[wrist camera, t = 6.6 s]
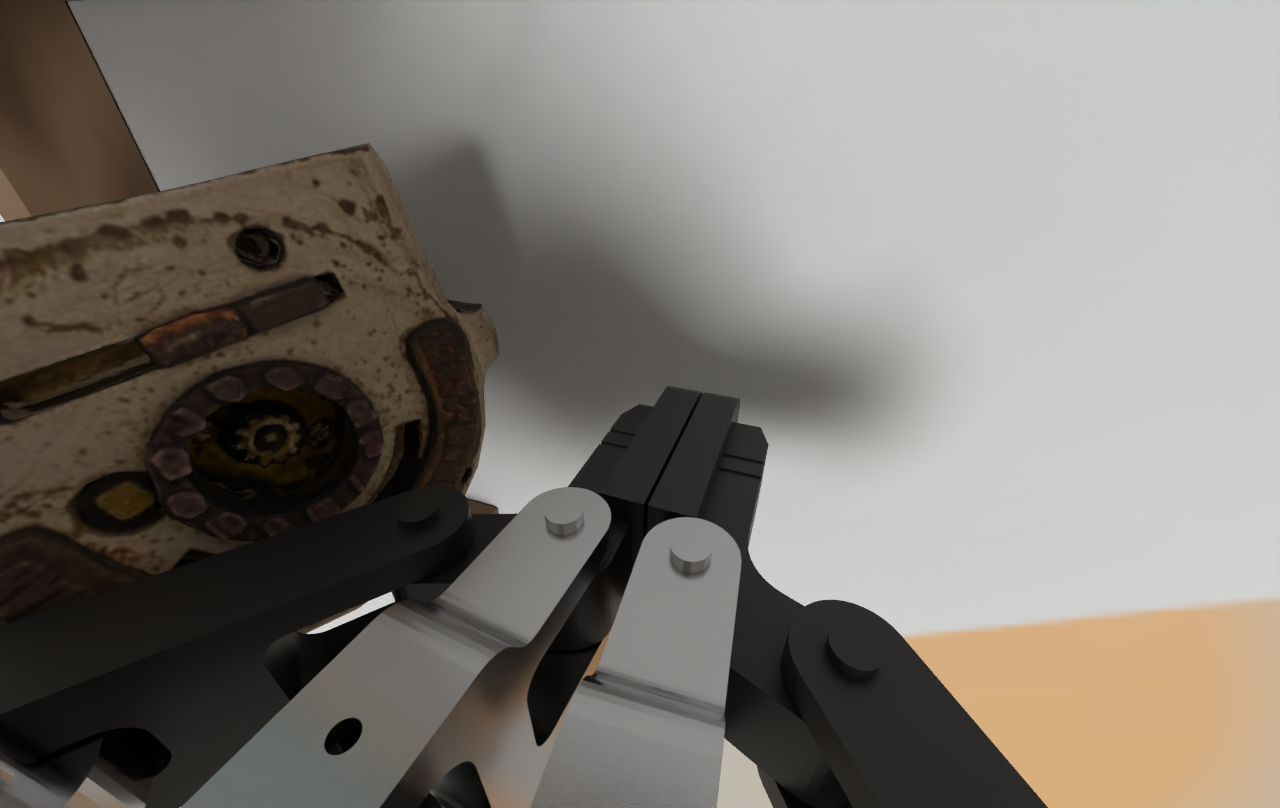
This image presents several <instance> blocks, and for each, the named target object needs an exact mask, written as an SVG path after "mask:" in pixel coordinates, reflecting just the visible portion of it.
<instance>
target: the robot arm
mask: <svg viewBox="0 0 1280 808" xmlns="http://www.w3.org/2000/svg"><path fill="white" fill-rule="evenodd" d="M739 406H740V399H738V398H733V397H727V396H722V395H716V394H710V393H702V392H699V391H693V390H687V389H682V388H676V387H671V386H668V387H666V389H665V390H664V392H663V393H662V395H661V396H660V398H659V400H658V401H657V403H656V404H655V406H654V407H652V406H646V405H641V404H639V405H637V406H635V407H634V408H632V409H630V410H628V411H627V412H625V413H623V414H622V415H621V416H620V417H619V418H618V420H617V421H616V422H615V424H614V425H613V426H612V428H611V430H610V432H608V433H607V435H606V436H605V437H604V439H603V440H602V443H601V444H599V445H598V447H597V448H596V449H595V451H594V452H593V454H592V455H591V456H590V458H589V459H588V460H587V462H586V463H585V464H584V466H583V467H582V468H581V470H580V471H579V472H578V474H577V475H576V477H575V478H574V479H573V481H572V482H571V483H570V485H569V486H568V487H564V488H557V489H553V490H550V491H547V492H544V493H542V494H540V495H538V496H537V497H535V498H534V499H532V500H531V501H530V502H529V503H528V504H527V505H526V506H525V507H524V508H523V509H522V510H521V511H520V512H519V513H518V514H471V512H470V508H469V504H468V500H467V498H466V497H465V495H464V494H463V493H461V492H460V491H458V490H457V489H454V488H451V487H447V486H426V487H421V488H417V489H413V490H410V491H407V492H404V493H401V494H398V495H395V496H392V497H389V498H386V499H383V500H380V501H377V502H374V503H371V504H368V505H365V506H362V507H359V508H356V509H353V510H350V511H347V512H344V513H341V514H338V515H334V516H331V517H328V518H325V519H322V520H319V521H316V522H313V523H310V524H307V525H304V526H301V527H298V528H295V529H292V530H289V531H286V532H283V533H280V534H277V535H274V536H271V537H268V538H265V539H262V540H259V541H256V542H253V543H250V544H247V545H244V546H241V547H238V548H235V549H232V550H228V551H225V552H222V553H219V554H216V555H213V556H210V557H207V558H204V559H201V560H198V561H195V562H192V563H189V564H186V565H183V566H180V567H177V568H174V569H171V570H168V571H165V572H162V573H159V574H156V575H153V576H150V577H147V578H144V579H141V580H138V581H135V582H132V583H129V584H126V585H122V586H119V587H116V588H113V589H110V590H107V591H104V592H101V593H98V594H95V595H92V596H89V597H86V598H83V599H80V600H77V601H74V602H71V603H68V604H65V605H62V606H59V607H56V608H53V609H50V610H47V611H44V612H41V613H38V614H35V615H32V616H29V617H26V618H23V619H19V620H16V621H13V622H10V623H7V624H4V625H1V626H0V808H179V807H181V806H182V807H181V808H717V799H718V790H719V781H720V772H721V763H722V754H723V743H724V738H725V739H726V740H727V741H729V742H730V743H731V744H732V745H733V746H735V747H736V748H737V749H738V750H739V751H741V752H742V753H743V754H744V755H746V756H747V757H748V758H749V759H750V760H751V761H753V762H754V763H755V764H756V765H757V768H758V773H759V776H760V778H761V781H762V784H763V786H764V788H765V790H766V793H767V795H768V797H769V799H770V801H771V803H772V806H773V808H1048V807H1047V806H1046V805H1045V804H1044V803H1043V802H1042V800H1041V799H1040V798H1039V797H1038V795H1037V794H1036V793H1035V792H1034V791H1033V790H1032V788H1031V787H1030V786H1029V785H1028V784H1027V783H1026V781H1025V780H1024V779H1023V778H1022V777H1021V776H1020V774H1019V773H1018V772H1017V771H1016V770H1015V769H1014V767H1013V766H1012V765H1011V764H1010V763H1009V761H1008V760H1007V759H1006V758H1005V757H1004V756H1003V754H1002V753H1001V752H1000V751H999V750H998V749H997V747H996V746H995V745H994V744H993V743H992V742H991V740H990V739H989V738H988V737H987V736H986V734H984V732H983V731H982V730H981V729H980V728H979V726H978V725H977V724H976V723H975V722H974V720H973V719H972V718H971V717H970V716H969V715H968V714H967V712H966V711H965V710H964V709H963V708H962V706H961V705H960V704H959V703H958V702H957V701H956V699H955V698H954V697H953V696H952V695H951V693H950V692H949V691H948V690H947V689H946V688H945V687H944V685H943V684H942V683H941V682H940V681H939V679H938V678H937V677H936V676H935V675H934V674H933V672H932V671H931V670H930V669H929V668H928V667H927V665H926V664H925V663H924V662H923V661H922V659H921V658H920V657H919V656H918V655H917V654H916V652H915V651H914V650H913V649H912V648H911V647H910V645H909V644H908V643H907V642H906V641H905V640H904V638H903V637H902V636H901V635H900V634H899V633H898V632H897V631H896V630H895V629H894V628H893V627H892V626H891V625H890V624H889V623H887V622H886V621H885V620H884V619H882V618H881V617H879V616H878V615H876V614H875V613H873V612H871V611H870V610H868V609H866V608H864V607H861V606H859V605H856V604H853V603H849V602H845V601H840V600H822V601H817V602H813V603H811V604H809V605H806V606H803V605H801V604H799V603H798V602H796V601H794V600H793V599H791V598H789V597H788V596H786V595H784V594H783V593H781V592H780V591H778V590H777V589H775V588H774V587H773V586H771V585H770V584H769V583H768V582H767V581H766V580H765V579H764V578H763V577H762V576H761V575H760V574H759V572H758V571H757V569H756V568H755V567H754V565H753V563H752V561H751V559H750V555H749V552H748V546H749V541H750V536H751V532H752V527H753V522H754V517H755V513H756V508H757V503H758V498H759V492H760V487H761V481H762V476H763V471H764V465H765V460H766V455H767V449H768V443H767V440H766V438H765V436H764V434H763V432H762V429H761V428H760V427H755V426H750V425H745V424H740V423H737V421H738V414H739ZM389 592H392V594H393V597H394V599H395V602H394V603H391V604H389V605H387V606H384V607H382V608H380V609H377V610H375V611H373V612H370V613H368V614H366V615H363V616H361V617H358V618H356V619H354V620H351V621H349V622H347V623H344V624H342V625H340V626H337V627H335V628H333V629H330V630H328V631H325V632H322V633H317V634H304V633H301V632H298V631H297V630H300V629H302V628H305V627H307V626H309V625H312V624H314V623H317V622H319V621H321V620H324V619H326V618H329V617H331V616H333V615H336V614H338V613H341V612H343V611H345V610H348V609H350V608H353V607H355V606H358V605H360V604H362V603H365V602H367V601H370V600H372V599H374V598H377V597H379V596H382V595H384V594H386V593H389Z"/></svg>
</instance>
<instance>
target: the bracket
mask: <svg viewBox="0 0 1280 808" xmlns="http://www.w3.org/2000/svg"><path fill="white" fill-rule="evenodd" d="M65 1H74V0H0V214H1V216H2V217H3V219H4V220H5V221H10V220H15V219H20V218H25V217H30V216H35V215H41V214H46V213H51V212H56V211H61V210H67V209H72V208H77V207H82V206H87V205H93V204H98V203H103V202H108V201H113V200H119V199H124V198H129V197H134V196H139V195H145V194H150V193H155V192H159V191H158V189H157V187H156V185H155V183H154V181H153V179H152V177H151V175H150V173H149V171H148V169H147V167H146V165H145V163H144V161H143V159H142V156H141V154H140V152H139V150H138V148H137V146H136V144H135V142H134V140H133V138H132V136H131V134H130V132H129V130H128V128H127V126H126V124H125V122H124V120H123V118H122V116H121V114H120V112H119V110H118V108H117V106H116V104H115V102H114V100H113V98H112V96H111V94H110V92H109V90H108V88H107V86H106V84H105V82H104V80H103V78H102V76H101V74H100V72H99V69H98V67H97V65H96V63H95V61H94V59H93V57H92V55H91V53H90V51H89V49H88V47H87V45H86V43H85V41H84V39H83V37H82V35H81V33H80V31H79V29H78V27H77V25H76V23H75V21H74V19H73V17H72V15H71V13H70V11H69V9H68V7H67V5H66V3H65ZM467 500H468V504H469V508H470V512H471V514H498V510H497V508H496V507H493V506H489V505H486V504H483V503H479V502H476V501H472V500H469V499H467Z"/></svg>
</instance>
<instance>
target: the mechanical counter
mask: <svg viewBox="0 0 1280 808" xmlns="http://www.w3.org/2000/svg"><path fill="white" fill-rule="evenodd" d="M498 355H499V348H498V341H497V335H496V328H495V327H494V325H493V323H492V322H491V320H490V318H489V317H488V315H487V314H486V312H485V310H484V309H483V307H482V305H481V304H472V303H464V302H458V301H452V300H447V299H446V297H445V295H444V293H443V291H442V288H441V286H440V284H439V282H438V280H437V278H436V275H435V273H434V271H433V269H432V267H431V265H430V262H429V260H428V258H427V256H426V254H425V252H424V249H423V247H422V245H421V243H420V241H419V239H418V236H417V234H416V232H415V230H414V228H413V226H412V223H411V221H410V219H409V217H408V215H407V213H406V210H405V208H404V206H403V204H402V202H401V199H400V197H399V195H398V193H397V190H396V188H395V186H394V184H393V182H392V179H391V177H390V175H389V173H388V171H387V168H386V166H385V164H384V163H383V161H382V160H381V159H380V157H379V156H378V154H377V153H376V152H375V150H374V149H373V148H372V146H371V145H370V144H369V143H368V144H364V145H359V146H355V147H350V148H346V149H341V150H337V151H332V152H328V153H323V154H319V155H314V156H310V157H305V158H301V159H296V160H292V161H288V162H284V163H280V164H276V165H272V166H267V167H263V168H259V169H255V170H251V171H246V172H242V173H238V174H234V175H230V176H225V177H221V178H217V179H213V180H208V181H204V182H200V183H196V184H191V185H187V186H182V187H178V188H174V189H169V190H165V191H160V192H155V193H150V194H145V195H139V196H134V197H129V198H124V199H119V200H113V201H108V202H103V203H98V204H93V205H87V206H82V207H77V208H72V209H67V210H61V211H56V212H51V213H46V214H41V215H35V216H30V217H25V218H20V219H15V220H10V221H5V222H0V626H1V625H4V624H7V623H10V622H13V621H16V620H19V619H23V618H26V617H29V616H32V615H35V614H38V613H41V612H44V611H47V610H50V609H53V608H56V607H59V606H62V605H65V604H68V603H71V602H74V601H77V600H80V599H83V598H86V597H89V596H92V595H95V594H98V593H101V592H104V591H107V590H110V589H113V588H116V587H119V586H122V585H126V584H129V583H132V582H135V581H138V580H141V579H144V578H147V577H150V576H153V575H156V574H159V573H162V572H165V571H168V570H171V569H174V568H177V567H180V566H183V565H186V564H189V563H192V562H195V561H198V560H201V559H204V558H207V557H210V556H213V555H216V554H219V553H222V552H225V551H228V550H232V549H235V548H238V547H241V546H244V545H247V544H250V543H253V542H256V541H259V540H262V539H265V538H268V537H271V536H274V535H277V534H280V533H283V532H286V531H289V530H292V529H295V528H298V527H301V526H304V525H307V524H310V523H313V522H316V521H319V520H322V519H325V518H328V517H331V516H334V515H338V514H341V513H344V512H347V511H350V510H353V509H356V508H359V507H362V506H365V505H368V504H371V503H374V502H377V501H380V500H383V499H386V498H389V497H392V496H395V495H398V494H401V493H404V492H407V491H410V490H413V489H417V488H421V487H426V486H447V487H451V488H454V489H457V490H458V491H460V492H461V493H463V494H464V495H465V494H466V492H467V490H468V487H469V485H470V483H471V481H472V478H473V476H474V474H475V472H476V469H477V467H478V462H479V457H480V452H481V446H482V441H483V436H484V430H485V425H486V424H485V406H484V389H483V384H484V377H485V373H486V371H487V369H488V368H489V366H490V364H491V363H492V361H493V360H494V359H495V358H496V357H497V356H498ZM367 602H368V601H367ZM365 603H366V602H365ZM365 603H362V604H360V605H358V606H355V607H353V608H350V609H348V610H345V611H343V612H341V613H338V614H336V615H333V616H331V617H329V618H326V619H324V620H321V621H319V622H317V623H314V624H312V625H309V626H307V627H305V628H302V629H300V630H297V631H298V632H301V633H304V634H306V633H308V632H310V631H312V630H314V629H316V628H318V627H320V626H322V625H324V624H327V623H329V622H331V621H333V620H335V619H337V618H339V617H341V616H343V615H345V614H347V613H350V612H352V611H354V610H356V609H358V608H359V607H361V606H362V605H363V604H365Z"/></svg>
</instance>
